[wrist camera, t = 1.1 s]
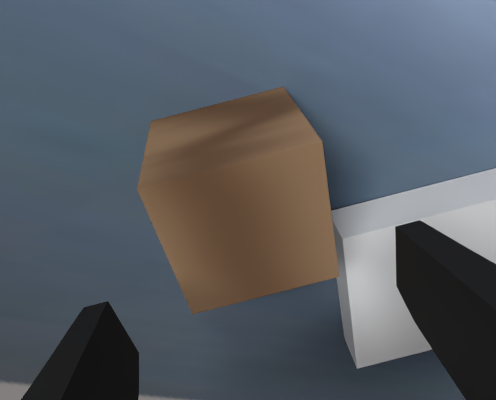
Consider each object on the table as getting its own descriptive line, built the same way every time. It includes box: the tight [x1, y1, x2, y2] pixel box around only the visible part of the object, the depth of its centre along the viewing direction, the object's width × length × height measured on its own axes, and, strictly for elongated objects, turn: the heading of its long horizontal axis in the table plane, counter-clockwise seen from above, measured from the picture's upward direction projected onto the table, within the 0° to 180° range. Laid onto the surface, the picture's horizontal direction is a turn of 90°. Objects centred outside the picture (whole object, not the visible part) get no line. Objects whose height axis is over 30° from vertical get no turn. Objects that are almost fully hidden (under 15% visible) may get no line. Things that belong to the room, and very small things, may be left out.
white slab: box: [331, 168, 496, 369], centre depth 19 cm, size 9×9×2 cm
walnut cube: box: [137, 87, 339, 314], centre depth 14 cm, size 5×5×5 cm
